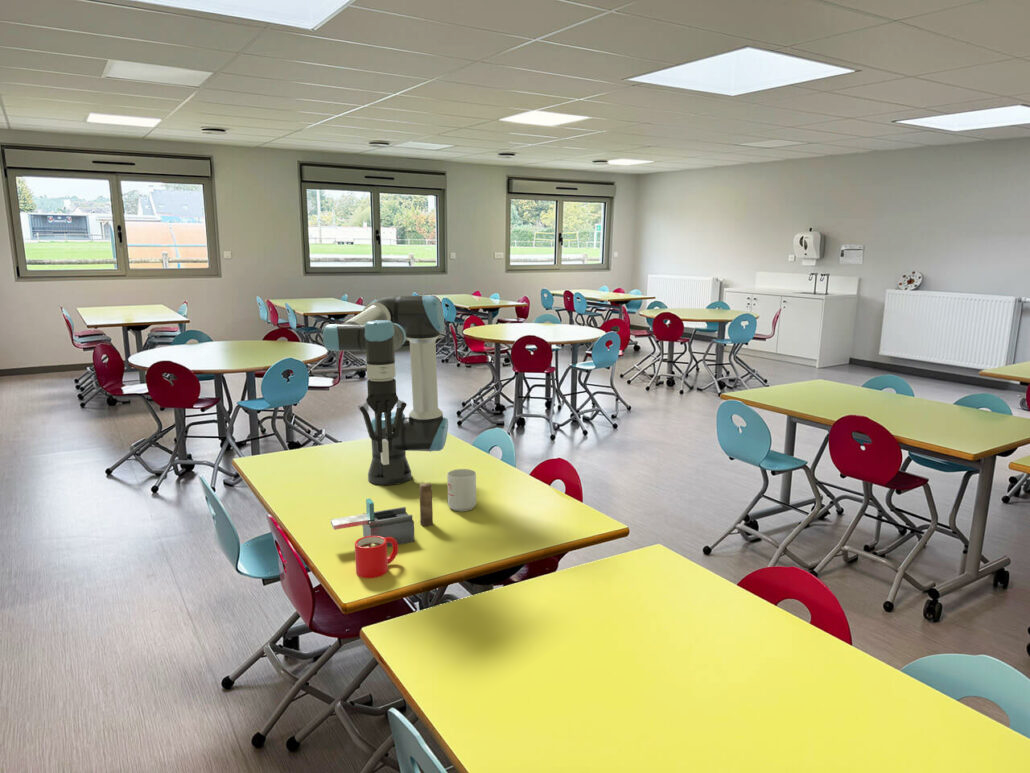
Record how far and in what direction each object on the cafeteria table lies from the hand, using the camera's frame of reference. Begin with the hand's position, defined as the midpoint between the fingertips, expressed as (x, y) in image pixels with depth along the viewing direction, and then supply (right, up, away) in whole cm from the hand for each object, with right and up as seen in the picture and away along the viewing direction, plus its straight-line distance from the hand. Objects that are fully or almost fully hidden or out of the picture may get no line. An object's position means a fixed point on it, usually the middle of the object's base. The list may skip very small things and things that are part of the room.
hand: (385, 463), depth 192 cm
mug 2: (+18, -17, +30) cm, 39 cm away
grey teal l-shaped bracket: (-9, -16, -1) cm, 18 cm away
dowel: (+10, -20, +15) cm, 26 cm away
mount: (0, -22, +4) cm, 22 cm away
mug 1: (+1, -25, -14) cm, 29 cm away
